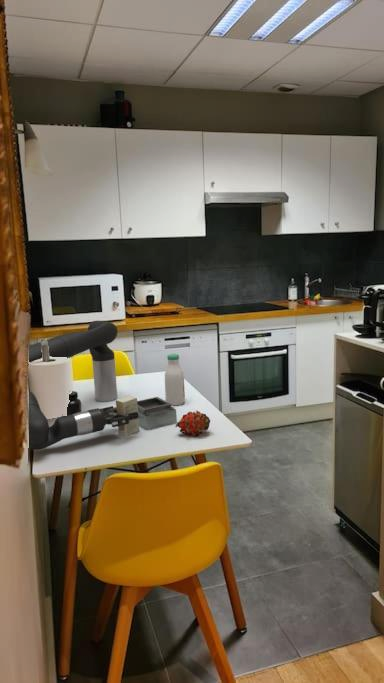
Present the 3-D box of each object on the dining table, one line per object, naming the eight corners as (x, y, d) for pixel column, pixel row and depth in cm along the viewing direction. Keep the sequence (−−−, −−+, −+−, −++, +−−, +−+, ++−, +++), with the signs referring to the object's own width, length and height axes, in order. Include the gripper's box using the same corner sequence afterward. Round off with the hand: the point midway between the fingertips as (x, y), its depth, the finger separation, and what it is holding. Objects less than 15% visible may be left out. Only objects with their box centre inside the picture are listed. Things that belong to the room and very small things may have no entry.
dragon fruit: (214, 437, 168) (179, 445, 168) (208, 417, 174) (174, 424, 173) (212, 423, 162) (176, 431, 161) (207, 402, 168) (172, 410, 167)
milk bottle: (182, 406, 197) (180, 357, 194) (163, 405, 199) (161, 357, 195) (186, 400, 205) (184, 352, 201) (168, 399, 206) (166, 352, 203)
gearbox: (127, 417, 187) (126, 401, 186) (156, 411, 193) (155, 395, 192) (146, 430, 173) (145, 412, 172) (176, 422, 179) (175, 405, 178)
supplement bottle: (66, 429, 178) (63, 396, 175) (61, 423, 184) (58, 392, 181) (84, 425, 181) (82, 393, 178) (79, 420, 187) (77, 389, 184)
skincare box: (132, 428, 176) (130, 395, 173) (140, 431, 173) (137, 397, 170) (117, 433, 171) (114, 399, 169) (125, 436, 168) (122, 402, 166)
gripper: (94, 417, 157) (141, 406, 165) (79, 405, 169) (123, 396, 177) (96, 439, 158) (142, 428, 166) (81, 426, 170) (125, 416, 178)
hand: (132, 411), depth 172 cm, fingers open, 7 cm apart
